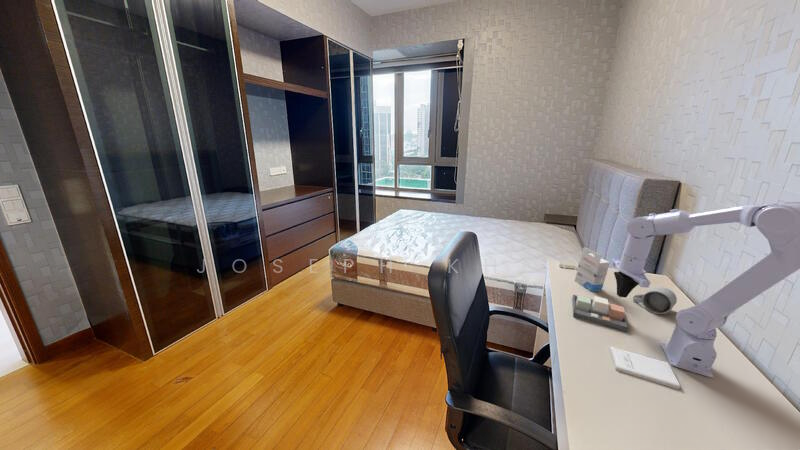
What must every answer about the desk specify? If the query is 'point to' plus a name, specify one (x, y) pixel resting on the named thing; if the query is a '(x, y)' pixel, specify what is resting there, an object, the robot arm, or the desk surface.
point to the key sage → (583, 303)
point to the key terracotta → (616, 312)
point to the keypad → (598, 317)
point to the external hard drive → (643, 367)
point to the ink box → (591, 270)
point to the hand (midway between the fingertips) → (621, 296)
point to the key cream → (600, 304)
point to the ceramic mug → (657, 300)
